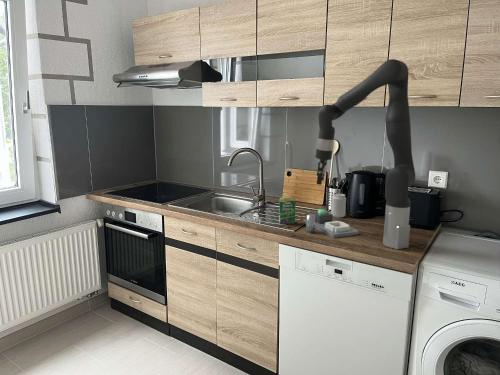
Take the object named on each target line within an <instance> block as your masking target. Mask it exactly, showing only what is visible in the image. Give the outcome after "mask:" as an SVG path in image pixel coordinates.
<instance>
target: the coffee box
mask: <svg viewBox="0 0 500 375" xmlns="http://www.w3.org/2000/svg"><path fill="white" fill-rule="evenodd" d="M278 223H279V225H295V224H296V198H295V197H279V198H278Z"/></svg>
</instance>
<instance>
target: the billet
mask: <svg viewBox="0 0 500 375" xmlns="http://www.w3.org/2000/svg"><path fill="white" fill-rule="evenodd" d="M305 219H306V223H305V232H306V233H307V234H315V231H316V229H315V215H313V214H312V213H310V214H309V213H308V214H306V218H305Z"/></svg>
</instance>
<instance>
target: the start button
mask: <svg viewBox="0 0 500 375" xmlns="http://www.w3.org/2000/svg"><path fill="white" fill-rule="evenodd" d="M317 212H318V214H320V215H325V214H327V212H328V210H327V209H323V208H322V209H321V208H319V209H317Z"/></svg>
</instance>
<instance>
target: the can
mask: <svg viewBox="0 0 500 375" xmlns="http://www.w3.org/2000/svg"><path fill="white" fill-rule="evenodd" d="M346 204H347V197H346V194H343V193H334V194H332V196H331V204H330V205H331V208H330V213H331V214H333V218H338V219H339V218H344V217H345V216H346V207H347V206H346Z"/></svg>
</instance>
